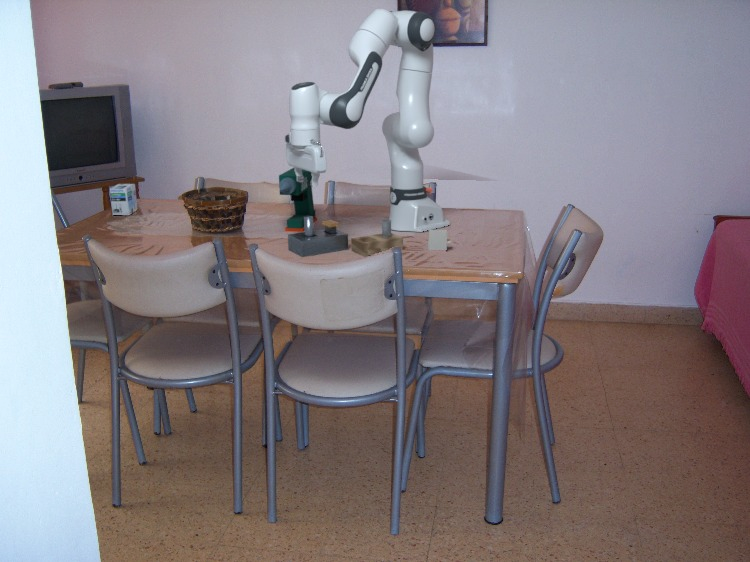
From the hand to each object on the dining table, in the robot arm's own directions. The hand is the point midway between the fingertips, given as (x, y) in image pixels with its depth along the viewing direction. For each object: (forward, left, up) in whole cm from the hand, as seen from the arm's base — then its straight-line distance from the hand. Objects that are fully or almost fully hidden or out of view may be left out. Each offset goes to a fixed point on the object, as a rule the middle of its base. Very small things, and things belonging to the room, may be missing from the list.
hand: (307, 184), depth 239 cm
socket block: (-3, 0, -21) cm, 21 cm away
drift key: (-8, 0, -21) cm, 22 cm away
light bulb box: (+34, -90, -21) cm, 98 cm away
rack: (-18, +11, -21) cm, 30 cm away
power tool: (-9, -28, -21) cm, 36 cm away
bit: (0, 0, -21) cm, 21 cm away
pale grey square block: (-33, +22, -22) cm, 45 cm away
